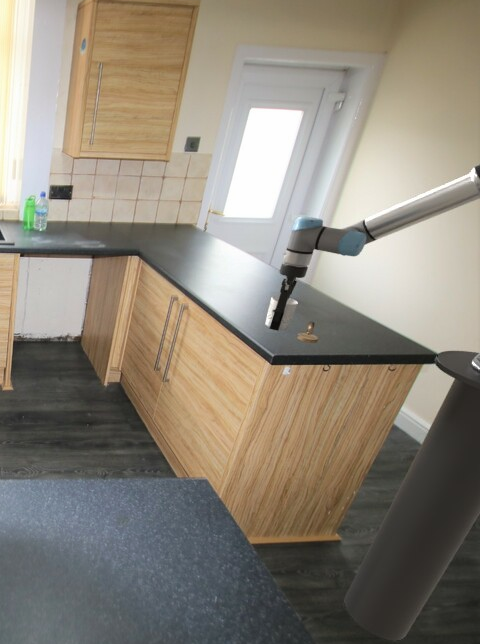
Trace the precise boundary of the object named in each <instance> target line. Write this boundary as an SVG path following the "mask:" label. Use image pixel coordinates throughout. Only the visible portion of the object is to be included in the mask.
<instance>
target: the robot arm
mask: <svg viewBox="0 0 480 644" xmlns="http://www.w3.org/2000/svg"><path fill="white" fill-rule="evenodd" d="M477 200H480V164H478V165H476V166H473V167H472V169H471V170H470V172H469V173H466V174H464V175H462V176H460V177H458V178H454V179H453V180H451V181H449V182H446V183H444V184H442V185H439V186H437V187H435V188H432V189H430V190H428V191H426V192H424V193H421V194H419V195H417V196H415V197H412V198H409V199H408V200H406V201H403V202H401V203H399V204H396V205H394V206H392V207H389V208H387V209H384V210H383V211H381V212H378V213H376V214H373V215H371V216H369V217H367V218H365V219H363V220H360V221H358V222H356V223H353V224H351V225H349V226H346V227H343V228H336V227H329V226H324V219H322V218H317V217H311V216H300V217H297V218H296V219H295V221H294V224H293V226H292V229H291V232H290V236H289V239H288V243H287V247H286V250H285V251H284V252H282V255H283V258H282V259H283V260H282V261H283V262H282V263H281V265H280V269H279V274H280V275H281V276H285V277H286V278H283V279H282V282H281V287H280V290H279V293H280V294H279V296H280V297H279V300H278V303H277V306H276V309H275V310H273V312H274V315H273V318H272V322H271V325H270V327H268V329H270V330H273V331H277V332H278V331H279V327H280V324H281V321H282V318H283V314H284V310H285V307H286V304H287V301H288V299H289V298H291V295H292V294H293V291H294V290H295V288H296V285H297V283H298V280H297V279H303V278H305V277H306V275H307V272H308V270H309V269H308V268H309V267H308V266H309V265H310V263H311V260H312V258H313V255H314V250H315V251H321V252H326V253H331V254H337V255H341V256H343V257H345V256H347V257H358V256H359V255H360V254H361V253H362V251H363V249H364V247H365V245H368V244H370V243H373V242H375V241H377V240H379V239H382V238H385V237H387V236H389V235H393V234H394V233H398V232H400V231H402V230H405V229H407V228H410V227H412V226H415V225H418V224H420V223H422V222H425V221H427V220H430V219H432V218H435V217H437V216H440V215H442V214H445V213H447V212H449V211H452V210H454V209H457V208H459V207H462V206H465V205H467V204H469V203H472V202H474V201H477ZM478 353H479V354H478V355H477V356H476V357H475V358H474V359H473V360H472V362H471V367H472V368H474V369H475V370H477V371H478V372H480V352H478Z"/></svg>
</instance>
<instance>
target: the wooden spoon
mask: <svg viewBox="0 0 480 644" xmlns="http://www.w3.org/2000/svg"><path fill="white" fill-rule="evenodd" d="M307 325H308V326H307V328H306V332H299V333H298V334H297V336H296V337H297V339H298V340H300V341H302V342H305V343H310V344H316V343H318V340H319V337H318V336H316V335H314V334H313V331H314V327H315V322H314V321H309V322H308V324H307Z"/></svg>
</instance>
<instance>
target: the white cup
mask: <svg viewBox="0 0 480 644" xmlns="http://www.w3.org/2000/svg"><path fill="white" fill-rule="evenodd" d="M279 297H280V295H274V296H271V299H270V302H269V306H268V309H267V313H266V319H265V323H264V325H265V326H267V328H270V325H271V322H272V318H273V315H274V312H273V310H275V309H276V306H277V303H278V300H279ZM298 304H299V302H298V301H297V300H296V299H294V298H291V297H290V298H289V299H288V301H287V304H286V307H285V310H284V314H283V318H282V321H281V324H280V327H279V330H280V331H285V330H287V329H288V327H289V324H290V322H291V321H292V318H293V316H294V314H295V312H296V309H297V306H298ZM279 330H278V331H279Z"/></svg>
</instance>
